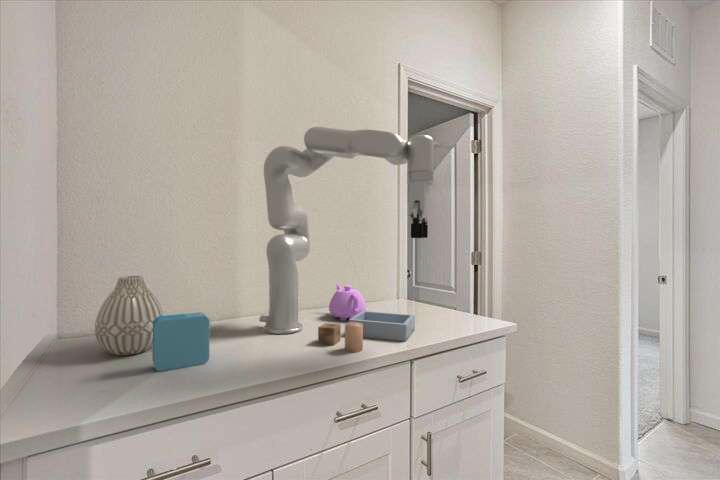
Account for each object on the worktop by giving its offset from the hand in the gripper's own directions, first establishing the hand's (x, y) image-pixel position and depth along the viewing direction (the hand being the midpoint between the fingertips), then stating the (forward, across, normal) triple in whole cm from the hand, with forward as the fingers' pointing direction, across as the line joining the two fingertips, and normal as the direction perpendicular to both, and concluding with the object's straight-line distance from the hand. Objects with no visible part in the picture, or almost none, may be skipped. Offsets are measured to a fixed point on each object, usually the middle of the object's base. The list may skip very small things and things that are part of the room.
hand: (419, 237), depth 110 cm
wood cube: (+31, +8, -25) cm, 41 cm away
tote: (+31, -8, -13) cm, 35 cm away
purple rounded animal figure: (+31, -25, -32) cm, 51 cm away
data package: (+31, +38, -51) cm, 71 cm away
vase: (+31, +34, -72) cm, 86 cm away
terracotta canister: (+31, +12, -16) cm, 37 cm away
